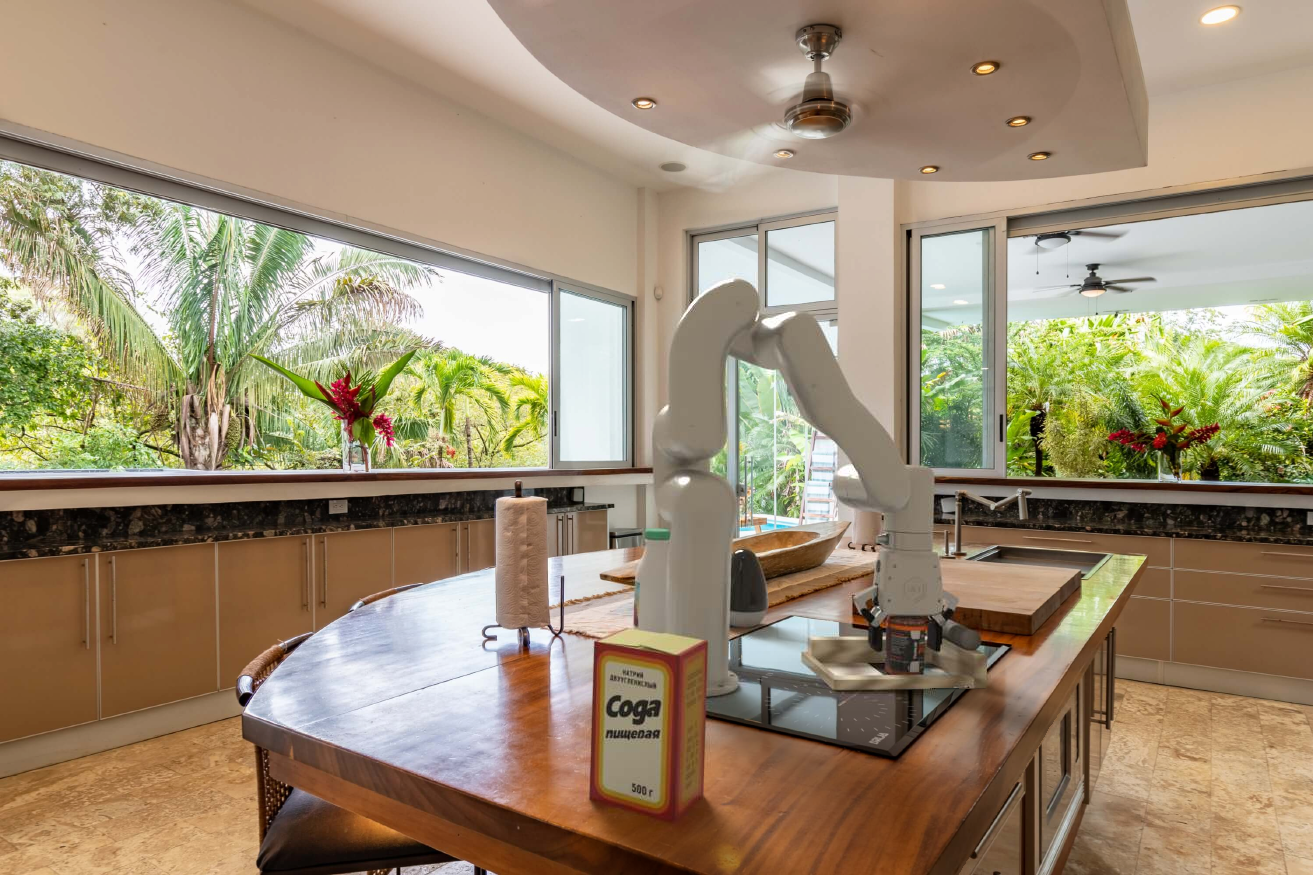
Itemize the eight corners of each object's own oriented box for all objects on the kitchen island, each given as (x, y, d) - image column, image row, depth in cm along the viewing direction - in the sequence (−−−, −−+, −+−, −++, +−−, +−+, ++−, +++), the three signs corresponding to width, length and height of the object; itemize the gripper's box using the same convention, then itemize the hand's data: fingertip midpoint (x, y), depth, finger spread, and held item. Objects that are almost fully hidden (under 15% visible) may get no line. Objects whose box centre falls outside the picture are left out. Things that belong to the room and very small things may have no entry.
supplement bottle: (926, 681, 118) (928, 607, 118) (886, 677, 119) (888, 605, 119) (921, 670, 123) (923, 600, 124) (883, 666, 125) (884, 597, 125)
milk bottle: (683, 639, 138) (686, 529, 138) (661, 648, 132) (664, 533, 132) (648, 632, 142) (651, 526, 143) (624, 641, 136) (627, 529, 136)
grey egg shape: (716, 617, 157) (718, 543, 157) (767, 620, 156) (769, 546, 156) (713, 628, 147) (715, 550, 147) (767, 632, 146) (770, 552, 146)
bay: (833, 689, 112) (835, 635, 112) (801, 660, 127) (802, 612, 127) (989, 687, 115) (990, 635, 115) (940, 659, 130) (941, 612, 130)
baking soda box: (589, 798, 75) (594, 637, 76) (622, 774, 81) (626, 624, 81) (674, 823, 71) (680, 651, 71) (703, 795, 77) (707, 637, 77)
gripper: (865, 544, 116) (862, 656, 116) (971, 546, 119) (968, 655, 119) (846, 538, 124) (844, 643, 124) (946, 539, 126) (944, 643, 126)
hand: (904, 649), depth 121 cm, fingers open, 9 cm apart
